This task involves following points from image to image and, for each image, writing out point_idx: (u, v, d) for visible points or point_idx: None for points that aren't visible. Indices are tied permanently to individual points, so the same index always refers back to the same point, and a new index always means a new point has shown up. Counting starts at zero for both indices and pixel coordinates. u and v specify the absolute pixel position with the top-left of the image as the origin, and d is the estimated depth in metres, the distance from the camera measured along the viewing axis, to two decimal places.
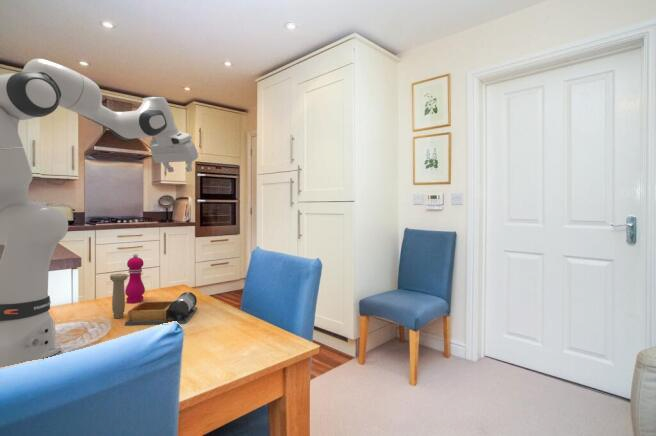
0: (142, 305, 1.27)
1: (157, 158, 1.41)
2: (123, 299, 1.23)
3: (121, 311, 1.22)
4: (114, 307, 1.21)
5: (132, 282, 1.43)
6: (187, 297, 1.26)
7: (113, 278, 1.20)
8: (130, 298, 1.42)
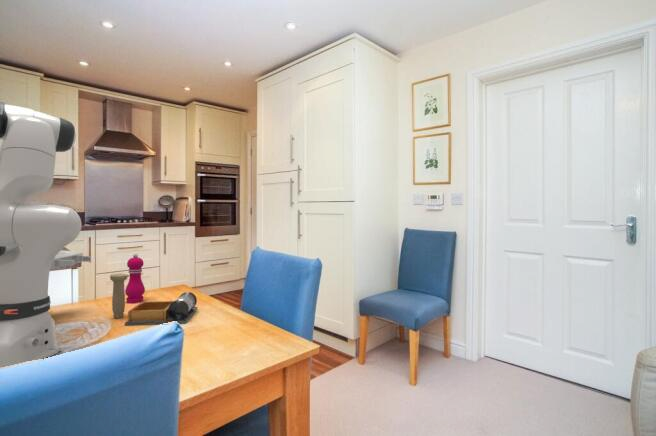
0: (142, 305, 1.27)
1: None
2: (123, 299, 1.23)
3: (121, 311, 1.22)
4: (114, 307, 1.21)
5: (132, 282, 1.43)
6: (187, 297, 1.26)
7: (113, 278, 1.20)
8: (130, 298, 1.42)
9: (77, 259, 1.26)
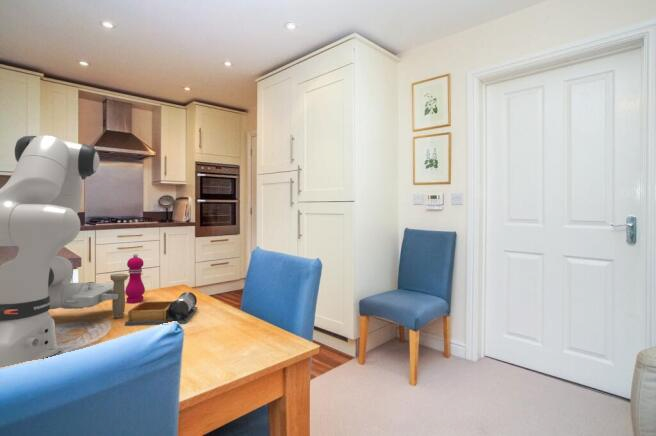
0: (142, 305, 1.27)
1: (89, 294, 1.15)
2: (123, 299, 1.23)
3: (121, 311, 1.22)
4: (114, 307, 1.21)
5: (132, 282, 1.43)
6: (187, 297, 1.26)
7: (113, 277, 1.21)
8: (130, 298, 1.42)
9: (111, 294, 1.25)
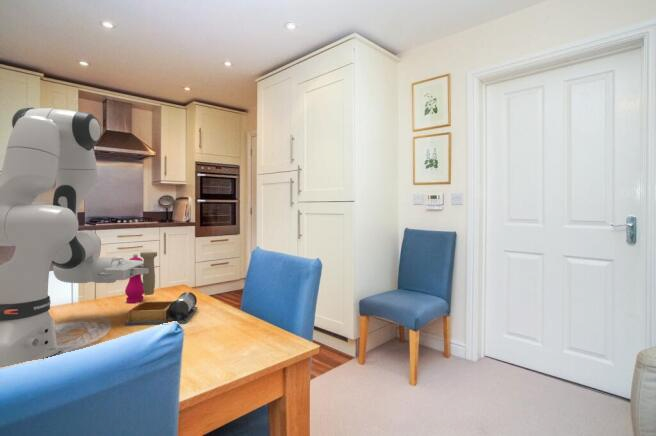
0: (142, 305, 1.27)
1: (122, 268, 1.15)
2: (153, 276, 1.24)
3: (152, 288, 1.23)
4: (145, 284, 1.22)
5: (132, 282, 1.43)
6: (187, 297, 1.26)
7: (144, 254, 1.21)
8: (130, 298, 1.42)
9: None
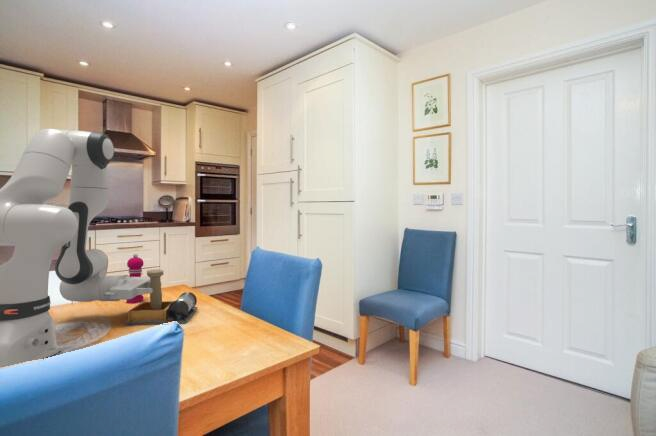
0: (142, 305, 1.27)
1: (127, 287, 1.16)
2: (160, 294, 1.26)
3: (159, 306, 1.26)
4: (153, 303, 1.25)
5: None
6: (187, 297, 1.26)
7: (150, 274, 1.23)
8: None
9: (148, 285, 1.28)
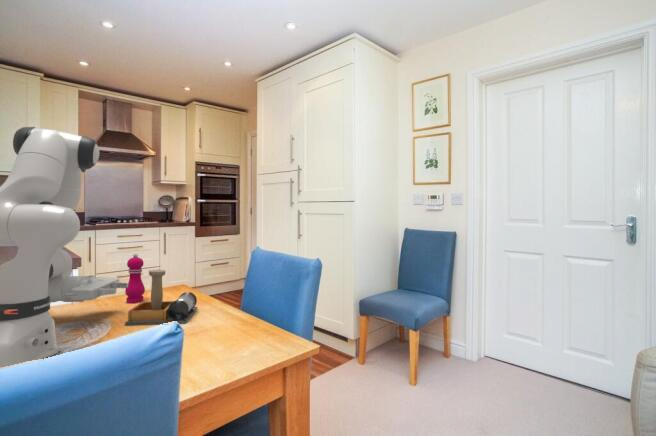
0: (142, 305, 1.27)
1: (89, 287, 1.14)
2: (161, 294, 1.26)
3: (159, 306, 1.26)
4: (153, 302, 1.25)
5: (132, 282, 1.43)
6: (187, 297, 1.26)
7: (152, 273, 1.24)
8: (130, 298, 1.42)
9: (115, 286, 1.27)
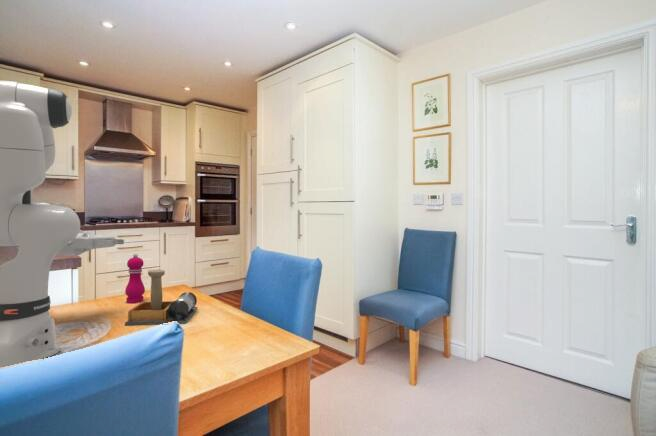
0: (142, 305, 1.27)
1: None
2: (161, 294, 1.26)
3: (159, 306, 1.26)
4: (153, 302, 1.25)
5: (132, 282, 1.43)
6: (187, 297, 1.26)
7: (151, 273, 1.24)
8: (130, 298, 1.42)
9: None
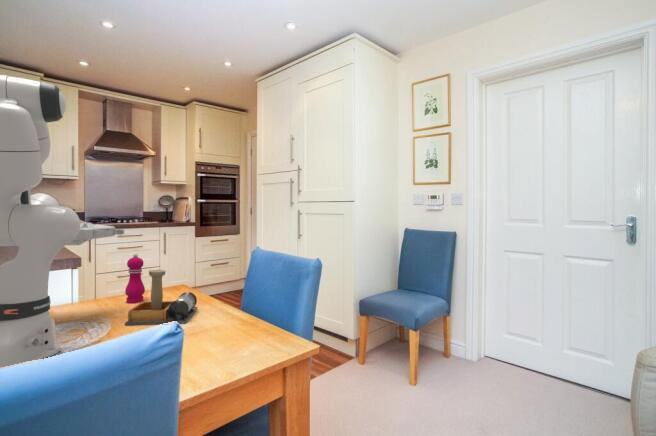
0: (142, 305, 1.27)
1: (85, 228, 1.13)
2: (161, 294, 1.26)
3: (159, 306, 1.26)
4: (153, 302, 1.25)
5: (132, 282, 1.43)
6: (187, 297, 1.26)
7: (152, 273, 1.24)
8: (130, 298, 1.42)
9: None
